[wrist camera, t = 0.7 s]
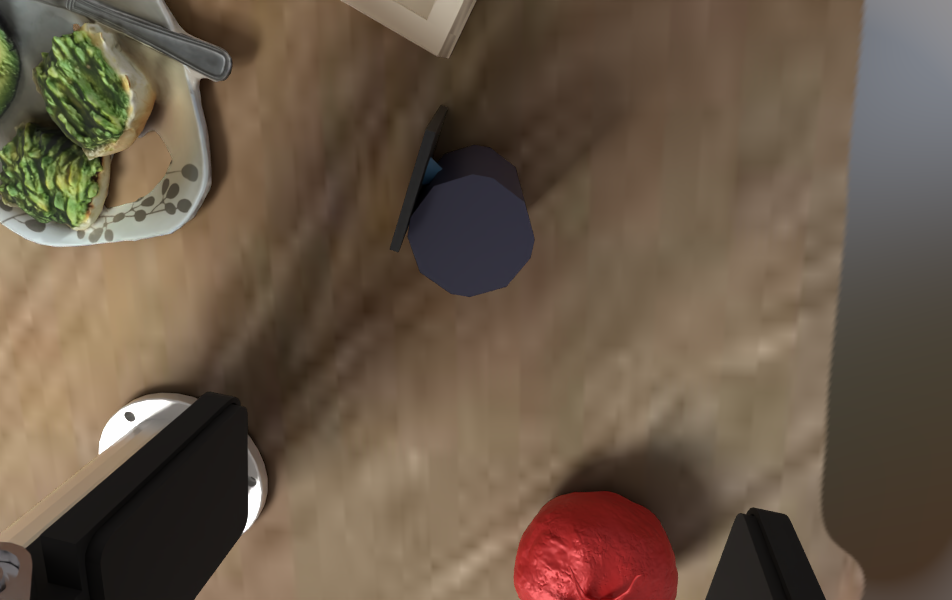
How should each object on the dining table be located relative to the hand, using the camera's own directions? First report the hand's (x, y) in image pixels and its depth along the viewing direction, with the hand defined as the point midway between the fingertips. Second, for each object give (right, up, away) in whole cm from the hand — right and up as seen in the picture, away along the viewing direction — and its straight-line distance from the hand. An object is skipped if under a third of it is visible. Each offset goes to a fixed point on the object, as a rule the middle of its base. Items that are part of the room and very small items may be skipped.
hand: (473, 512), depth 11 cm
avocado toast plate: (-24, +16, +26) cm, 39 cm away
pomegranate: (+8, -12, +31) cm, 34 cm away
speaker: (0, +11, +24) cm, 26 cm away
